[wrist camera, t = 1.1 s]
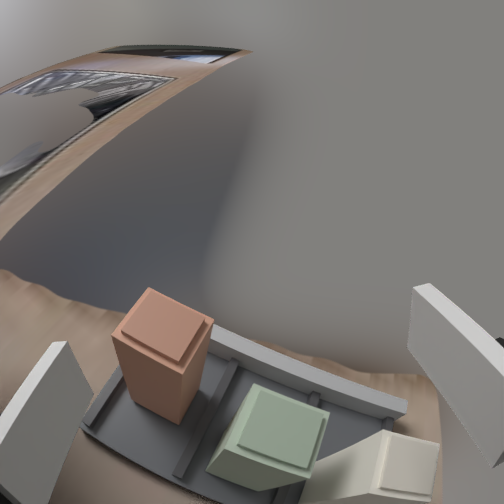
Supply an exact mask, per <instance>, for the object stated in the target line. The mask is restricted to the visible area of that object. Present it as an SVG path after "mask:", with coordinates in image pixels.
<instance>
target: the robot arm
mask: <svg viewBox="0 0 504 504" xmlns="http://www.w3.org/2000/svg"><path fill="white" fill-rule="evenodd" d="M407 348H408V349H409V351H410V352H411V353H412V355H413V356H414V357H415V359H416V360H417V361H418V363H419V364H420V365H421V367H422V368H423V370H424V371H425V372H426V374H427V375H428V376H429V378H430V379H431V380H432V382H433V383H434V385H435V386H436V387H437V389H438V390H439V392H440V393H441V394H442V396H443V397H444V399H445V400H446V401H447V403H448V404H449V406H450V407H451V408H452V410H453V411H454V413H455V414H456V416H457V417H458V419H459V420H460V422H461V423H462V425H463V426H464V427H465V429H466V430H467V432H468V433H469V435H470V436H471V438H472V439H473V441H474V442H475V444H476V446H477V447H478V449H479V450H480V452H481V453H482V455H483V456H484V458H485V459H486V461H487V462H488V464H489V466H490V467H491V469H492V468H494V467H496V466H497V465H499V464H500V463H502V462H504V339H502V338H497V339H494V338H492V337H491V336H490V335H489V334H488V333H487V332H486V331H485V330H484V329H482V328H481V327H480V326H479V325H478V324H477V323H476V322H475V321H474V320H472V319H471V318H470V317H469V316H468V315H467V314H465V313H464V312H463V311H462V310H461V309H460V308H459V307H457V306H456V305H455V304H454V303H453V302H452V301H450V300H449V299H448V298H447V297H446V296H444V295H443V294H442V293H441V292H440V291H438V290H437V289H436V288H435V287H434V286H432V285H431V284H430V283H427V284H424V285H420V286H416V287H412V303H411V315H410V326H409V336H408V345H407ZM93 395H94V393H93V391H92V389H91V387H90V386H89V384H88V382H87V380H86V378H85V376H84V374H83V372H82V370H81V368H80V366H79V364H78V362H77V360H76V358H75V356H74V354H73V352H72V350H71V348H70V346H69V344H68V341H62V342H53V343H52V344H51V345H50V347H49V348H48V349H47V351H46V352H45V353H44V355H43V356H42V357H41V359H40V360H39V361H38V363H37V364H36V365H35V367H34V368H33V370H32V371H31V372H30V374H29V375H28V376H27V378H26V379H25V381H24V382H23V383H22V385H21V386H20V388H19V389H18V391H17V392H16V394H15V395H14V396H13V398H12V399H11V401H10V402H9V404H8V405H7V407H6V408H5V410H4V411H3V412H2V413H1V414H0V504H48V503H49V500H50V497H51V494H52V492H53V489H54V486H55V484H56V481H57V479H58V476H59V474H60V471H61V469H62V466H63V464H64V461H65V459H66V456H67V454H68V451H69V449H70V447H71V444H72V442H73V440H74V437H75V435H76V433H77V430H78V428H79V426H80V424H81V421H82V419H83V417H84V415H85V412H86V410H87V408H88V406H89V404H90V401H91V399H92V397H93Z"/></svg>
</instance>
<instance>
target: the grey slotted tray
mask: <svg viewBox="0 0 504 504" xmlns="http://www.w3.org/2000/svg"><path fill="white" fill-rule="evenodd" d="M254 383H255V384H257V385H259V386H262V387H264V388H267V389H269V390H271V391H274V392H276V393H279V394H281V395H284V396H287V397H289V398H292V399H294V400H297V401H300V402H302V403H305V404H308V405H310V406H313V407H316V408H319V409H321V410H324V411H327V412H330V415H329V418H328V422H327V425H326V429H325V432H324V436H323V439H322V442H321V446H320V449H319V452H318V455H317V458H316V461H318V460H321V459H323V458H325V457H328V456H330V455H332V454H334V453H337V452H339V451H341V450H343V449H345V448H347V447H350V446H352V445H354V444H356V443H358V442H360V441H362V440H364V439H366V438H368V437H370V436H372V435H373V434H375V433H377V432H379V431H381V430H383V429H384V430H387V431H391V432H392V429H393V423H394V421H395V420H397V419H398V418H400V417H402V416H404V415H405V414H406V411H407V402H408V401H407V400H404V399H401V398H398V397H395V396H392V395H389V394H386V393H383V392H380V391H377V390H375V389H372V388H369V387H366V386H363V385H360V384H358V383H355V382H352V381H349V380H347V379H344V378H341V377H339V376H336V375H333V374H331V373H328V372H325V371H323V370H320V369H318V368H315V367H313V366H310V365H308V364H305V363H303V362H300V361H298V360H295V359H293V358H290V357H288V356H285V355H283V354H281V353H278V352H276V351H273V350H271V349H269V348H266V347H264V346H262V345H259V344H257V343H255V342H253V341H250V340H248V339H246V338H243V337H241V336H239V335H237V334H234V333H232V332H230V331H228V330H226V329H223V328H221V327H219V326H217V325H215V324H213V328H212V333H211V337H210V342H209V346H208V351H207V355H206V360H205V364H204V369H203V373H202V378H201V383H200V387H199V389H198V391H197V393H196V395H195V397H194V399H193V400H192V402H191V404H190V406H189V408H188V410H187V412H186V413H185V415H184V417H183V419H182V421H181V423H180V424H179V425H177V424H175V423H173V422H171V421H169V420H167V419H166V418H164V417H162V416H160V415H158V414H156V413H154V412H152V411H151V410H149V409H147V408H145V407H143V406H142V405H140V404H138V403H136V402H135V401H133V400H131V397H130V394H129V391H128V388H127V385H126V382H125V379H124V376H123V373H122V370H121V367H120V364H119V366H118V367H117V368H116V370H115V371H114V373H113V374H112V376H111V377H110V379H109V380H108V381H107V383H106V384H105V386H104V387H103V389H102V390H101V392H100V393H99V395H98V396H97V398H96V399H95V401H94V402H93V404H92V405H91V407H90V408H89V410H88V411H87V413H86V414H85V416H84V417H83V419H82V421H81V424H80V426H79V427H80V428H81V429H82V430H83V431H85V432H86V433H87V434H89V435H90V436H92V437H93V438H95V439H96V440H98V441H99V442H101V443H103V444H104V445H106V446H107V447H109V448H110V449H112V450H114V451H115V452H117V453H119V454H120V455H122V456H124V457H125V458H127V459H129V460H131V461H132V462H134V463H136V464H138V465H139V466H141V467H143V468H145V469H147V470H149V471H151V472H152V473H154V474H156V475H158V476H160V477H162V478H164V479H166V480H168V481H170V482H172V483H174V484H177V485H179V486H181V487H183V488H185V489H187V490H190V491H192V492H194V493H197V494H199V495H201V496H204V497H206V498H208V499H211V500H213V501H216V502H219V503H221V504H298V502H299V499H300V497H301V494H302V491H303V488H304V486H305V483H306V480H304V481H300V482H296V483H292V484H289V485H285V486H281V487H276V488H272V489H268V490H263V491H255V490H252V489H249V488H246V487H244V486H241V485H238V484H235V483H233V482H230V481H228V480H225V479H223V478H220V477H218V476H215V475H213V474H211V473H208V472H206V471H205V470H206V468H207V466H208V464H209V462H210V460H211V458H212V456H213V454H214V452H215V450H216V447H217V445H218V443H219V441H220V439H221V437H222V435H223V433H224V431H225V429H226V427H227V426H228V424H229V423H230V421H231V420H232V418H233V416H234V415H235V413H236V412H237V410H238V408H239V407H240V405H241V403H242V402H243V400H244V398H245V397H246V395H247V394H248V392H249V390H250V389H251V387H252V385H253V384H254ZM316 461H315V462H316Z"/></svg>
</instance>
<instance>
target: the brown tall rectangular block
mask: <svg viewBox="0 0 504 504" xmlns="http://www.w3.org/2000/svg"><path fill="white" fill-rule="evenodd" d="M213 324H214V319H212V318H210V317H208V316H206V315H204V314H202V313H199V312H197V311H195V310H193V309H191V308H189V307H187V306H185V305H183V304H181V303H179V302H177V301H175V300H173V299H171V298H169V297H167V296H165V295H163V294H161V293H159V292H157V291H155V290H153V289H151V288H148V289H147V290H146V291H145V292H144V294H143V295H142V296H141V297H140V299H139V300H138V301H137V302H136V304H135V305H134V306H133V308H132V309H131V310H130V311H129V313H128V314H127V315H126V316H125V318H124V319H123V320H122V322H121V323H120V324H119V325H118V327H117V328H116V329H115V331H114V332H113V333H112V335H111V336H112V340H113V343H114V347H115V350H116V354H117V357H118V360H119V364H120V367H121V370H122V373H123V376H124V379H125V382H126V385H127V388H128V391H129V394H130V397H131V400H133V401H135V402H136V403H138V404H140V405H142V406H143V407H145V408H147V409H149V410H151V411H152V412H154V413H156V414H158V415H160V416H162V417H164V418H166V419H167V420H169V421H171V422H173V423H175V424H177V425H179V424H180V423H181V421H182V419H183V417H184V415H185V413H186V412H187V410H188V408H189V406H190V404H191V402H192V400H193V399H194V397H195V395H196V393H197V391H198V389H199V387H200V383H201V378H202V373H203V369H204V364H205V360H206V355H207V351H208V346H209V342H210V337H211V333H212V328H213Z"/></svg>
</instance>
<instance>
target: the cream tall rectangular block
mask: <svg viewBox="0 0 504 504" xmlns="http://www.w3.org/2000/svg"><path fill="white" fill-rule="evenodd" d="M438 453H439V444H438V443H434V442H430V441H425V440H421V439H417V438H413V437H409V436H406V435H402V434H398V433H394V432H391V431H387V430H384V429H383V430H381V431H379V432H377V433H375V434H373V435H372V436H370V437H368V438H366V439H364V440H362V441H360V442H358V443H356V444H354V445H352V446H350V447H347V448H345V449H343V450H341V451H339V452H337V453H334V454H332V455H330V456H328V457H325V458H323V459H321V460H318V461H316V462H315V464H314V468H313V471H312V474H311V476H310V479H307V480H306V483H305V486H304V488H303V491H302V494H301V497H300V499H299V502H298V504H424V503H429V502H431V498H432V493H433V487H434V481H435V475H436V468H437V461H438Z"/></svg>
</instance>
